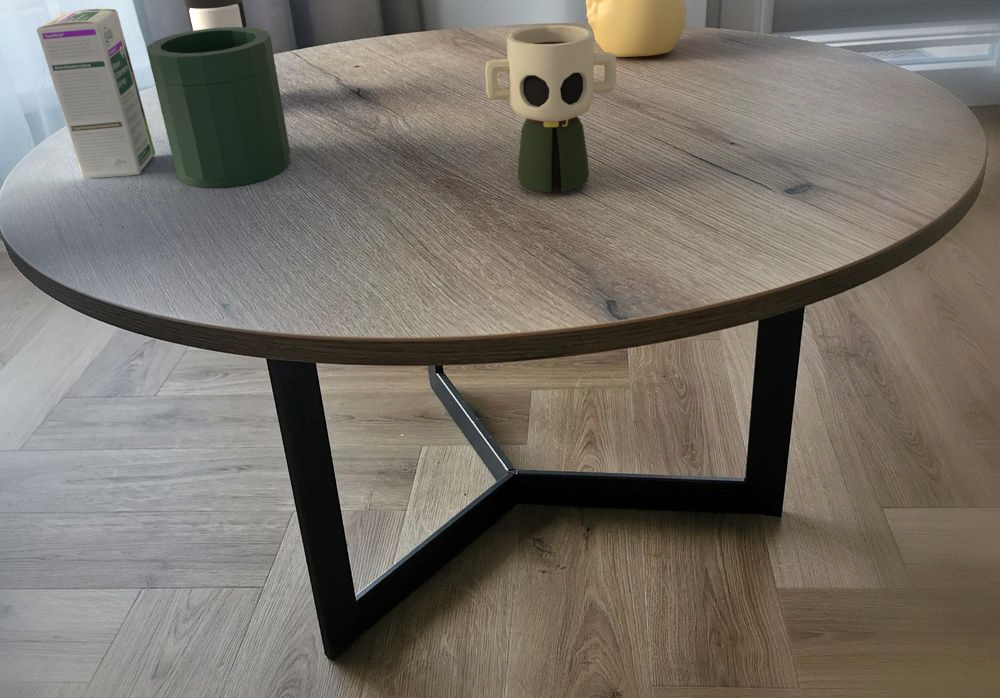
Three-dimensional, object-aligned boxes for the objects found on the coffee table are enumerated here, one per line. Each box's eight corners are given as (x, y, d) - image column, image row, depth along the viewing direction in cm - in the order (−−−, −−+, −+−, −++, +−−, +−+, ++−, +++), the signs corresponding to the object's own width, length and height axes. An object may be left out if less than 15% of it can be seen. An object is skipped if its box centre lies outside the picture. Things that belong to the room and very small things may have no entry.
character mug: (493, 204, 82) (484, 49, 75) (490, 174, 88) (482, 28, 81) (620, 196, 82) (623, 40, 75) (609, 166, 88) (610, 20, 81)
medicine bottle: (203, 102, 113) (180, -5, 107) (264, 94, 114) (245, -11, 108) (202, 119, 107) (178, 8, 101) (267, 111, 108) (247, 0, 102)
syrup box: (141, 175, 92) (101, 20, 85) (79, 179, 92) (34, 24, 85) (156, 155, 97) (119, 6, 90) (98, 159, 97) (56, 10, 90)
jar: (160, 189, 89) (128, 58, 83) (198, 149, 98) (171, 29, 92) (274, 186, 88) (250, 54, 82) (302, 146, 97) (282, 24, 91)
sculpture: (610, 39, 128) (611, -47, 123) (696, 46, 123) (701, -44, 117) (573, 61, 120) (571, -31, 114) (663, 69, 115) (666, -27, 109)
